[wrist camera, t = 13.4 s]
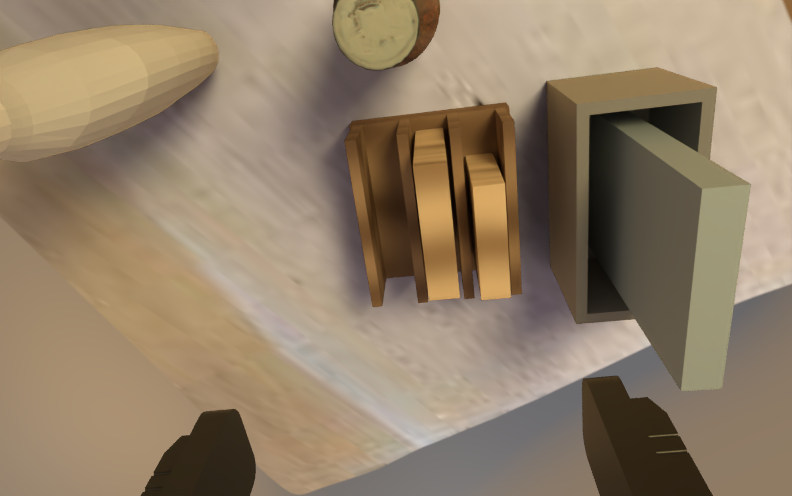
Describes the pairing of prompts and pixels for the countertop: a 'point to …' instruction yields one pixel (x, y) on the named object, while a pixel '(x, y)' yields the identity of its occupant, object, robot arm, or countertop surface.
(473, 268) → the rack
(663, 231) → the tall sheet
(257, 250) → the countertop surface
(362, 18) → the sauce bottle
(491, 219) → the beech offcut
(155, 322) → the countertop surface
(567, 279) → the bin
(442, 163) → the oak offcut
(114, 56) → the soap bottle
